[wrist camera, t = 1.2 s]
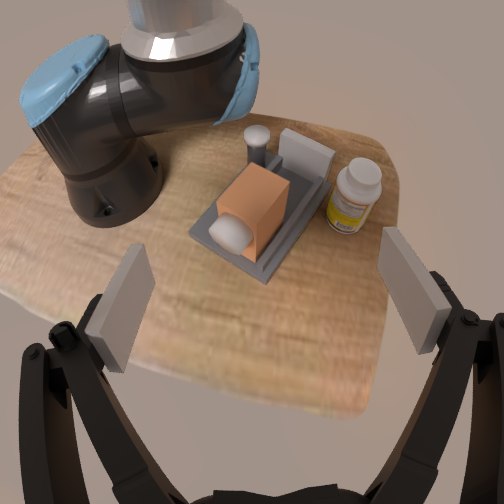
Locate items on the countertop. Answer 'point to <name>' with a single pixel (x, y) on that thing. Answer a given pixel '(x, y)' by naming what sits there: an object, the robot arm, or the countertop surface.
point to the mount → (297, 206)
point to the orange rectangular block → (250, 212)
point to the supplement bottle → (354, 195)
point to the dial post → (256, 143)
